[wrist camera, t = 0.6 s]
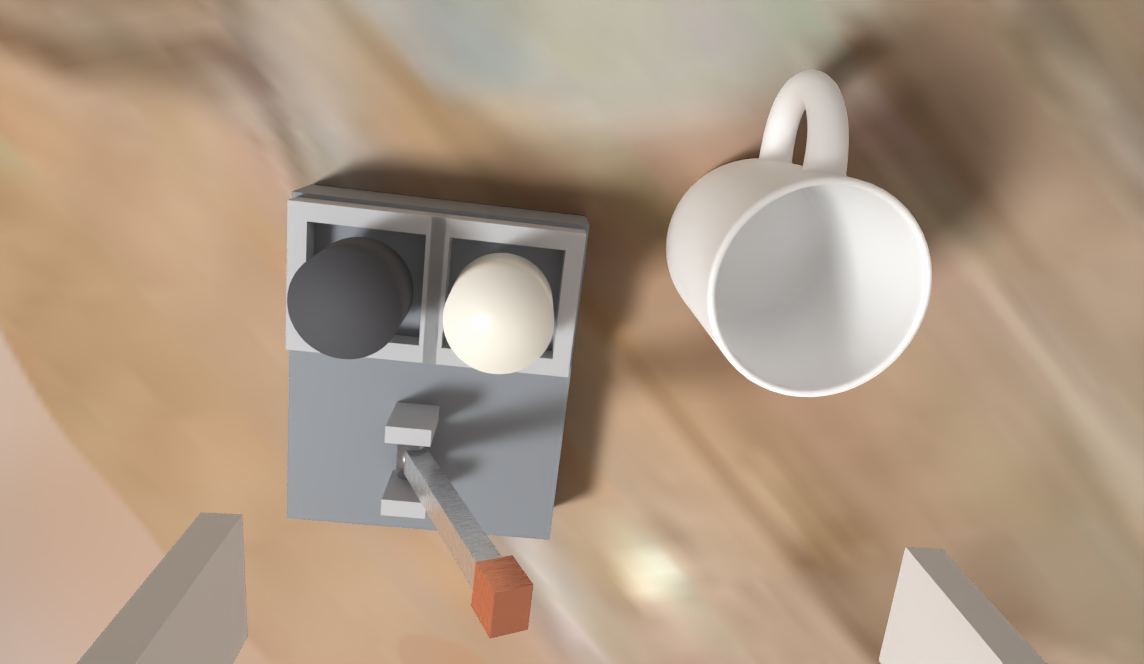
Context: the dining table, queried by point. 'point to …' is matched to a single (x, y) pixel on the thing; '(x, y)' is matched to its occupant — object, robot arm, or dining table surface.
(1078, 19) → the dining table surface
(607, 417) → the dining table surface
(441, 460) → the panel
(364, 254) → the button black
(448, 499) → the lever
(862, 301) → the mug
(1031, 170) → the dining table surface
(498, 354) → the button ivory
